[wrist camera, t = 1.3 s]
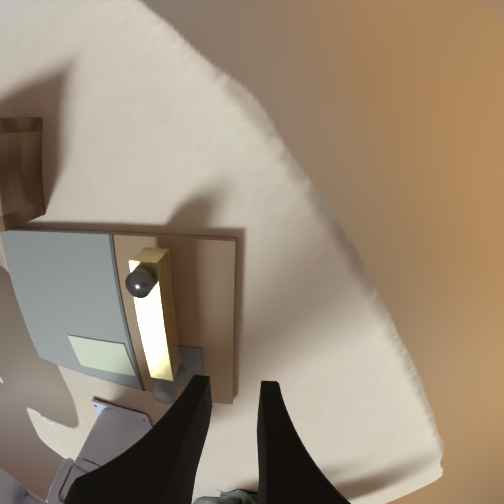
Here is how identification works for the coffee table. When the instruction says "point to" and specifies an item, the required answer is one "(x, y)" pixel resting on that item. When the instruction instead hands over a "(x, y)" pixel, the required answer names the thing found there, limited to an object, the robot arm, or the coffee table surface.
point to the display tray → (20, 171)
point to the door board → (125, 304)
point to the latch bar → (155, 309)
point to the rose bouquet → (230, 498)
